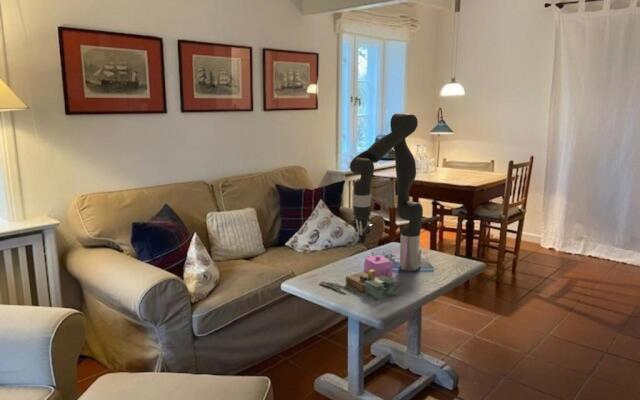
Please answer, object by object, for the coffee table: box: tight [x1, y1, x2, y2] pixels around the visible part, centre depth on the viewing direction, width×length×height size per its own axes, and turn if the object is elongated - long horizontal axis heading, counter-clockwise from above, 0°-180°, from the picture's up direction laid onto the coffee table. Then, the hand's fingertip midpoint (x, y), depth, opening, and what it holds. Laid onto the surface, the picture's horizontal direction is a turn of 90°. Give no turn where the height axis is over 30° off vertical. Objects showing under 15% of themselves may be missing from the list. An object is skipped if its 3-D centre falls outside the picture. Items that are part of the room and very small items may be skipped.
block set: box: [345, 271, 398, 302], centre depth 213 cm, size 11×21×6 cm, turn 34°
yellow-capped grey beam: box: [368, 269, 385, 286], centre depth 209 cm, size 2×8×5 cm, turn 34°
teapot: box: [363, 254, 393, 279], centre depth 227 cm, size 18×10×10 cm, turn 24°
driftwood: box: [318, 281, 361, 296], centre depth 216 cm, size 21×7×2 cm, turn 43°
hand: (362, 242), depth 215 cm, fingers closed
